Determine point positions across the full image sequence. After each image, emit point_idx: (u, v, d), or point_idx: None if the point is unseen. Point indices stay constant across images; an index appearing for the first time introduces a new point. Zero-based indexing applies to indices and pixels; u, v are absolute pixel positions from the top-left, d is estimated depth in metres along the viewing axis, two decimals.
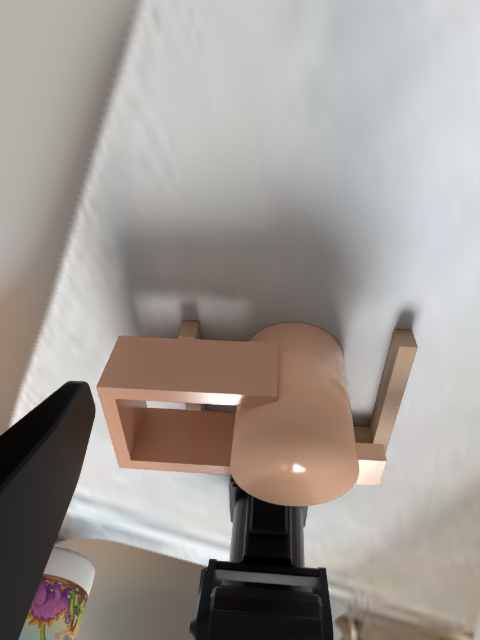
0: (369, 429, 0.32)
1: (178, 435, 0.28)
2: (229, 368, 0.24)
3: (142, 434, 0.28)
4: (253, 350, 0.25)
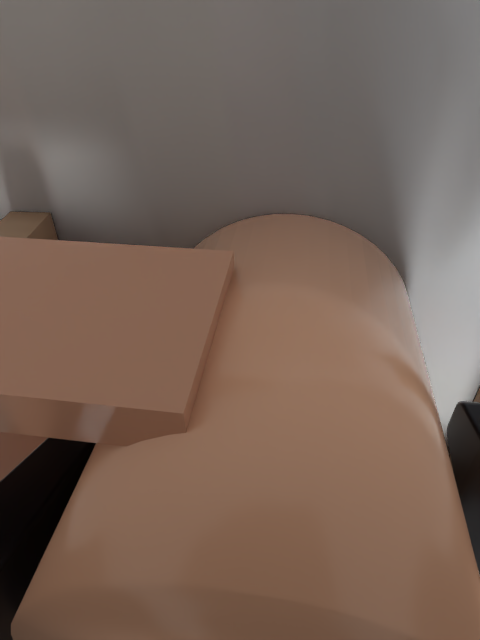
0: None
1: None
2: (58, 309, 0.07)
3: None
4: (153, 265, 0.08)
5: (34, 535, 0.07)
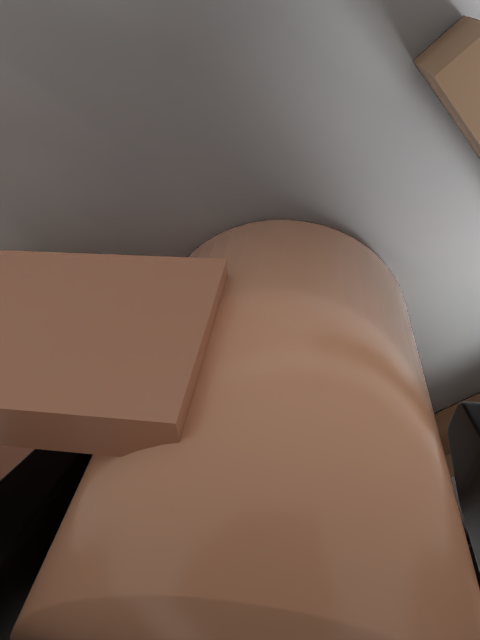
0: None
1: None
2: (52, 321, 0.07)
3: None
4: (146, 274, 0.08)
5: (33, 535, 0.07)
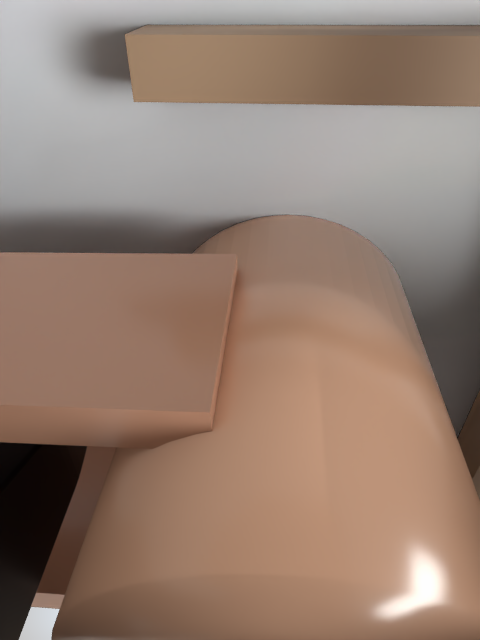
0: None
1: None
2: (72, 320, 0.07)
3: None
4: (160, 272, 0.08)
5: None
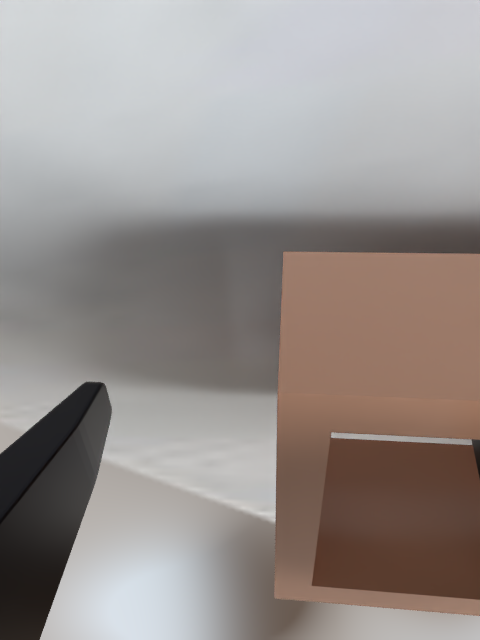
0: None
1: (409, 509, 0.11)
2: None
3: None
4: None
5: (2, 533, 0.07)
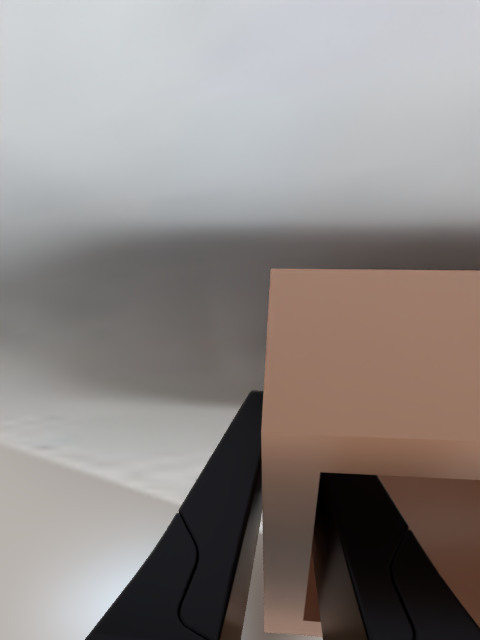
0: None
1: None
2: None
3: None
4: None
5: (242, 551, 0.07)
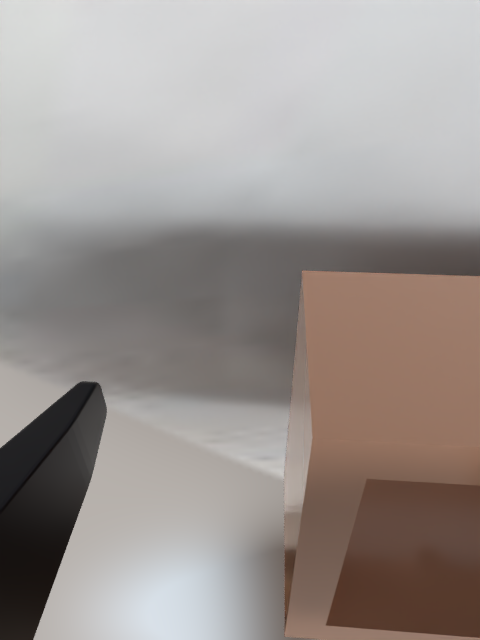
0: None
1: (424, 539, 0.11)
2: None
3: None
4: None
5: None
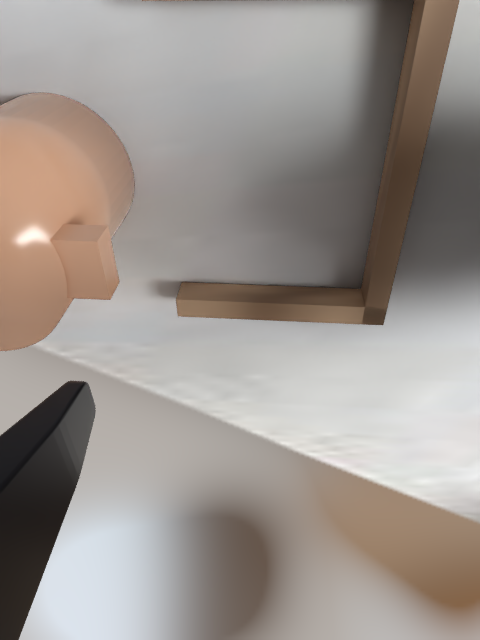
0: None
1: None
2: None
3: None
4: None
5: None
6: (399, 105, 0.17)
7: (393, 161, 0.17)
